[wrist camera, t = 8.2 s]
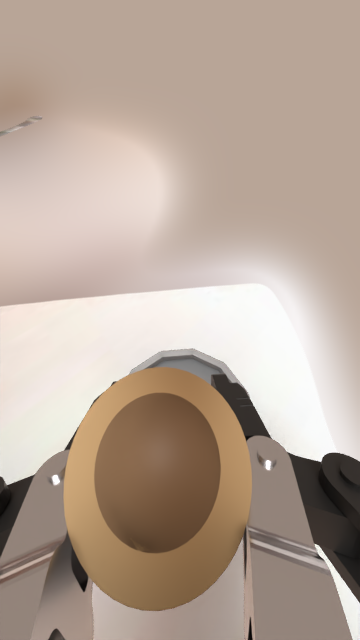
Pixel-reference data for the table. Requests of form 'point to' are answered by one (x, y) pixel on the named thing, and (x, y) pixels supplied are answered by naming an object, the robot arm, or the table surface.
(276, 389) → the table surface
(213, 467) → the bead stack
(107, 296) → the table surface
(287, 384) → the table surface
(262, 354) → the table surface
